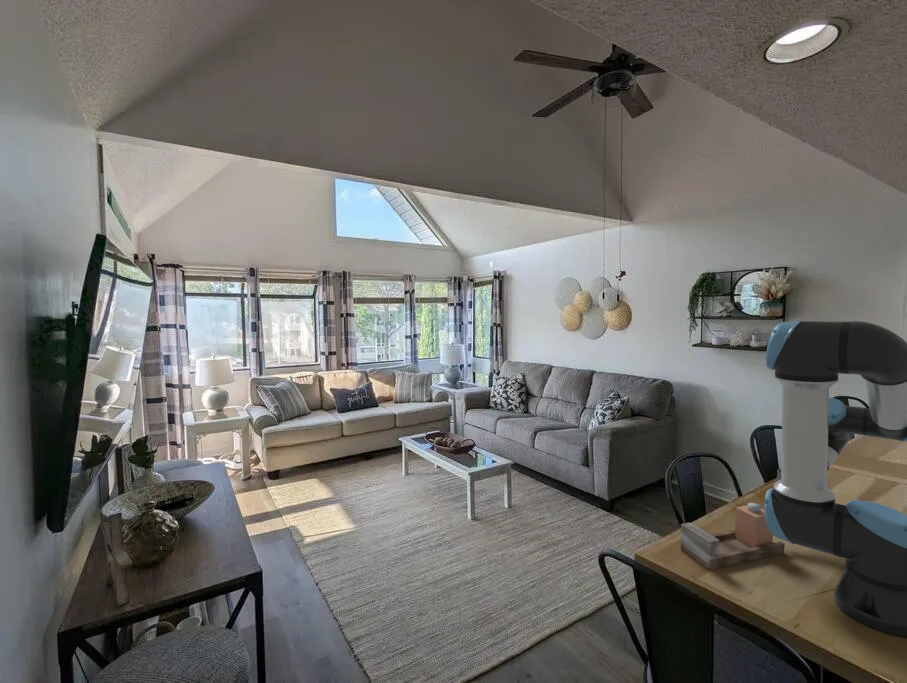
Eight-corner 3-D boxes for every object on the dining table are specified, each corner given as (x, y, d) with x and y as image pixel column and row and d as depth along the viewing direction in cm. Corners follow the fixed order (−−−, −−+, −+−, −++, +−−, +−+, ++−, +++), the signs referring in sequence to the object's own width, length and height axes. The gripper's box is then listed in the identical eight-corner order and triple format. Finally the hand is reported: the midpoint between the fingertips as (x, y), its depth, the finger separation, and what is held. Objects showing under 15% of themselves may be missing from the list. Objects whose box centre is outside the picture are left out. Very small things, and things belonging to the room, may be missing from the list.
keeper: (751, 534, 128) (752, 499, 127) (772, 545, 122) (773, 508, 121) (735, 537, 127) (735, 501, 126) (755, 549, 120) (756, 511, 120)
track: (751, 535, 131) (751, 511, 130) (784, 553, 121) (785, 526, 120) (680, 549, 124) (680, 524, 124) (709, 569, 114) (709, 542, 114)
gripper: (846, 475, 124) (799, 542, 120) (799, 460, 136) (755, 520, 133) (832, 458, 122) (784, 526, 119) (786, 445, 134) (741, 506, 131)
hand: (769, 523), depth 126 cm, fingers closed
